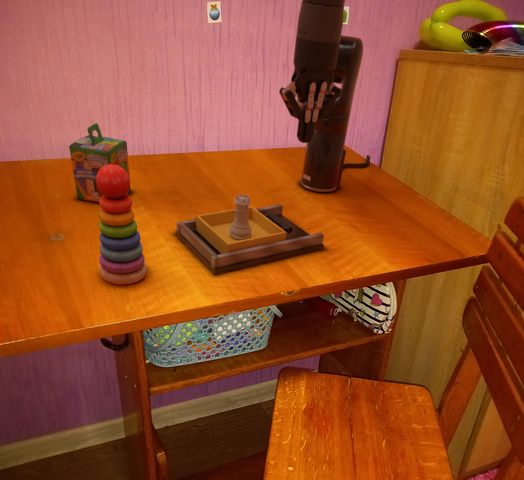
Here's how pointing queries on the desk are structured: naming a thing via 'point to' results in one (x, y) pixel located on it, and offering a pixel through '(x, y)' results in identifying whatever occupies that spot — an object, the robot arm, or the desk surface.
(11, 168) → the desk surface
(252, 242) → the tray
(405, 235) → the desk surface
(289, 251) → the base
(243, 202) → the rook chess piece
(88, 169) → the chalk box
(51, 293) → the desk surface
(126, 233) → the stacking toy
